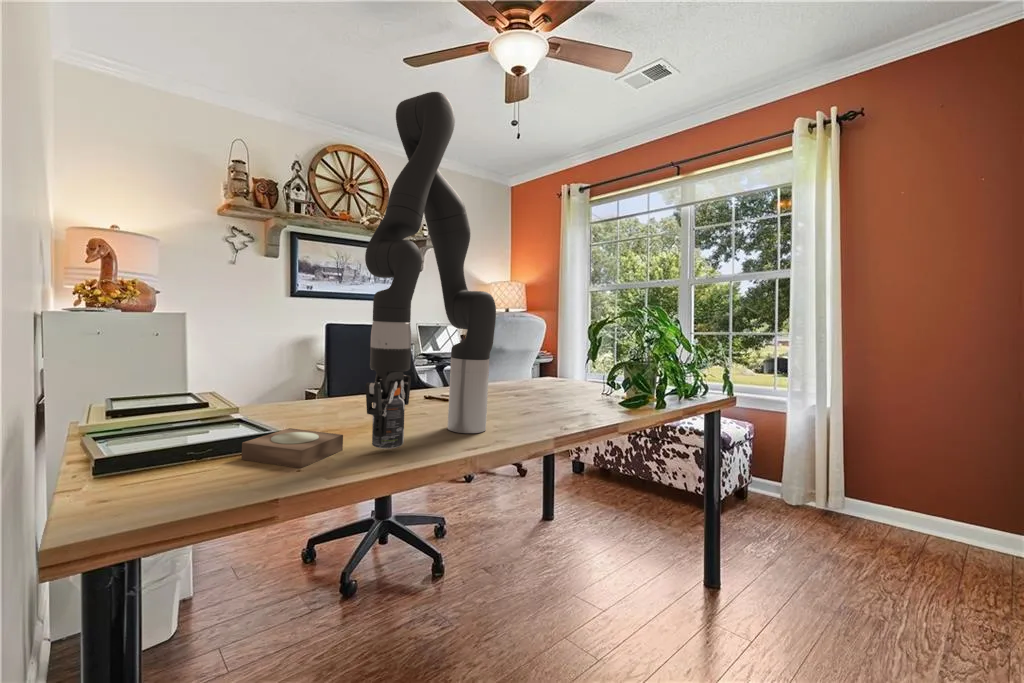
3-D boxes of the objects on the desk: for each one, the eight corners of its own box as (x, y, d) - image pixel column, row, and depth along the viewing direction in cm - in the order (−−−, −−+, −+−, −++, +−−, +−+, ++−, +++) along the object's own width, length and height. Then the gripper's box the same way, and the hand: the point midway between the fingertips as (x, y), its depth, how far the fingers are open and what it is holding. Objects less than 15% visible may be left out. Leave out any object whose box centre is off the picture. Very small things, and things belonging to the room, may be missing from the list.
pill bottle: (407, 442, 94) (409, 385, 94) (397, 450, 88) (399, 390, 88) (378, 440, 95) (380, 384, 94) (366, 448, 89) (368, 388, 88)
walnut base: (289, 443, 94) (289, 427, 94) (342, 450, 91) (343, 433, 91) (241, 459, 82) (242, 441, 82) (301, 468, 80) (301, 449, 79)
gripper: (391, 348, 83) (388, 443, 84) (424, 344, 97) (421, 425, 98) (352, 346, 84) (350, 439, 85) (390, 342, 98) (388, 422, 99)
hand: (388, 431), depth 91 cm, fingers closed on pill bottle, 6 cm apart
